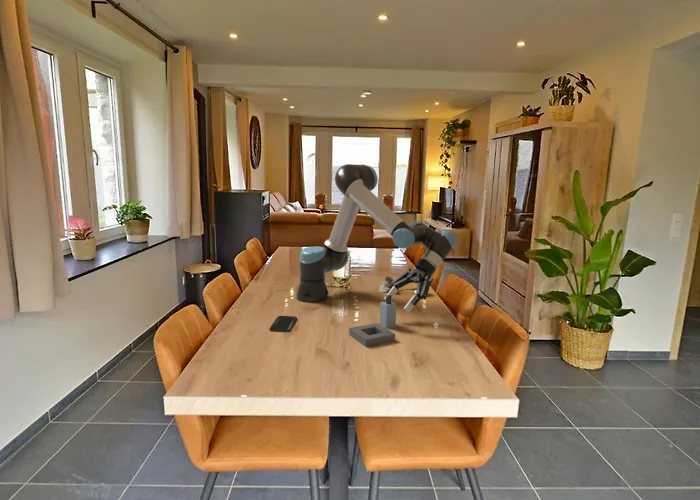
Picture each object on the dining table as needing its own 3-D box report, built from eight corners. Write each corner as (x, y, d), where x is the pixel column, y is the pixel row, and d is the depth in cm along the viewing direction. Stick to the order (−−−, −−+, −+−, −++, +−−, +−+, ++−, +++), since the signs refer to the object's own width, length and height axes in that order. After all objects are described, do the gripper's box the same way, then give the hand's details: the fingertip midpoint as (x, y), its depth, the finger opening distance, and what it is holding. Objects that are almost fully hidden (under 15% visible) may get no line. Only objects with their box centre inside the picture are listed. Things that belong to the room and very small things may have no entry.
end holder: (349, 334, 155) (349, 328, 154) (377, 329, 160) (377, 323, 160) (365, 346, 144) (365, 339, 144) (394, 340, 150) (395, 333, 149)
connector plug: (379, 324, 166) (380, 294, 163) (389, 322, 168) (390, 293, 165) (385, 328, 162) (386, 297, 160) (395, 326, 164) (396, 296, 162)
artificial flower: (421, 300, 203) (419, 281, 200) (377, 299, 213) (374, 281, 209) (425, 290, 211) (423, 272, 207) (383, 290, 220) (379, 273, 216)
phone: (297, 316, 171) (289, 330, 156) (297, 319, 171) (289, 333, 156) (278, 315, 171) (268, 329, 156) (278, 318, 171) (268, 331, 157)
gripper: (454, 276, 159) (421, 321, 155) (414, 263, 181) (383, 302, 176) (444, 264, 156) (409, 309, 151) (404, 252, 177) (373, 291, 173)
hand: (395, 305), depth 164 cm, fingers open, 13 cm apart
